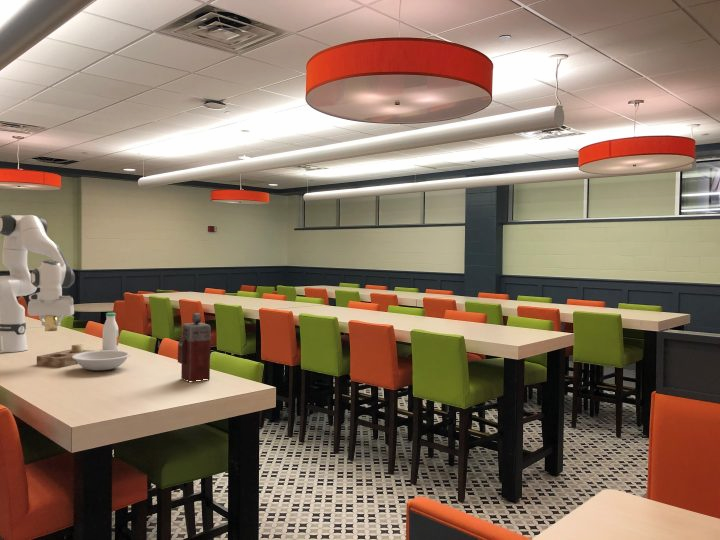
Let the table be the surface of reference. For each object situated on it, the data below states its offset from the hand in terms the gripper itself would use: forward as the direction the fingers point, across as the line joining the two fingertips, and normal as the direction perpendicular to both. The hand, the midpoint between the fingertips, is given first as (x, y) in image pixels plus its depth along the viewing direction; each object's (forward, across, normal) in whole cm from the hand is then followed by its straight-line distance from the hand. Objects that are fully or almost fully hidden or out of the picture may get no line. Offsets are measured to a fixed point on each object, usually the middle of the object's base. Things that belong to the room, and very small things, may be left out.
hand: (51, 325), depth 260 cm
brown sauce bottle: (+20, -73, +21) cm, 79 cm away
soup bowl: (+19, -27, +7) cm, 34 cm away
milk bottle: (+18, -8, -41) cm, 45 cm away
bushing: (+2, 0, 0) cm, 2 cm away
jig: (+18, -4, -7) cm, 20 cm away
